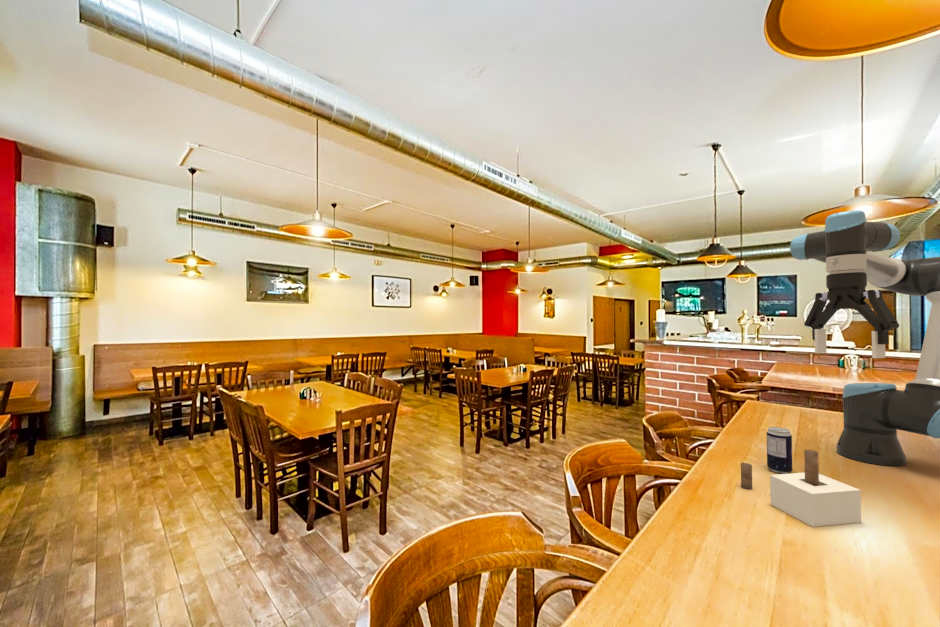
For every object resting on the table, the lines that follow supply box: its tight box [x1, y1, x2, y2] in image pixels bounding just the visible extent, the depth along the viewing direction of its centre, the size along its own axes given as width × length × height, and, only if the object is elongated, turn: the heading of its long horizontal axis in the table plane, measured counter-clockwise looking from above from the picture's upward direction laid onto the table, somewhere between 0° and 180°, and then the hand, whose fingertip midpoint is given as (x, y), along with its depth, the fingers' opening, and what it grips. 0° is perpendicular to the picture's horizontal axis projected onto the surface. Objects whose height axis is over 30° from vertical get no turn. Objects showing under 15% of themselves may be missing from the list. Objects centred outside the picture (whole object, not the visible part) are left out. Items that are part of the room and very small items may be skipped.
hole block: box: [769, 471, 862, 528], centre depth 89 cm, size 12×10×7 cm
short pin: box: [740, 462, 753, 490], centre depth 102 cm, size 2×2×6 cm
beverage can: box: [766, 426, 793, 474], centre depth 112 cm, size 6×6×12 cm
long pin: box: [803, 449, 820, 486], centre depth 89 cm, size 2×2×14 cm
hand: (847, 355), depth 100 cm, fingers open, 13 cm apart
